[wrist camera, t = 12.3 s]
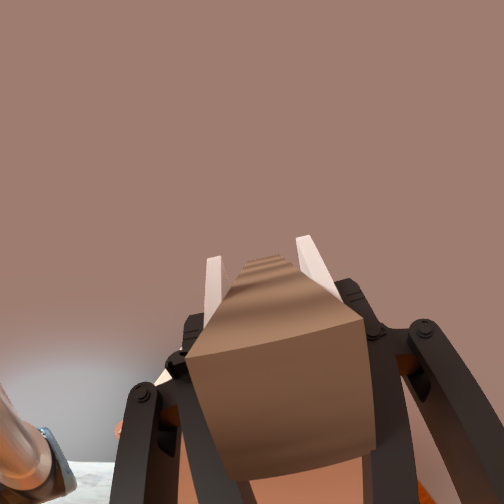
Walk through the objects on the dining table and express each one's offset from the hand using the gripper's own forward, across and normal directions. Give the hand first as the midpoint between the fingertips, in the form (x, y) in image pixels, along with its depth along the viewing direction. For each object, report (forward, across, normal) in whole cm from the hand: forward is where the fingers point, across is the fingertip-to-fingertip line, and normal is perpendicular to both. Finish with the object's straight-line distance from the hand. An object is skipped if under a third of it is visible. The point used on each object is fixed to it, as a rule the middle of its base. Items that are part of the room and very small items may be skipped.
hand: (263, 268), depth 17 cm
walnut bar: (+3, 0, -7) cm, 7 cm away
